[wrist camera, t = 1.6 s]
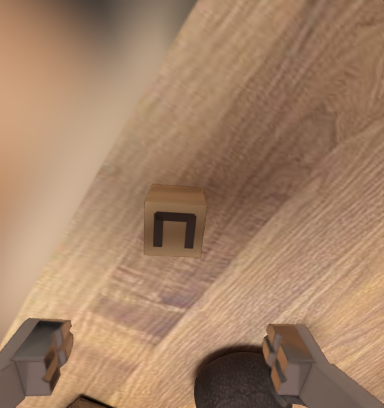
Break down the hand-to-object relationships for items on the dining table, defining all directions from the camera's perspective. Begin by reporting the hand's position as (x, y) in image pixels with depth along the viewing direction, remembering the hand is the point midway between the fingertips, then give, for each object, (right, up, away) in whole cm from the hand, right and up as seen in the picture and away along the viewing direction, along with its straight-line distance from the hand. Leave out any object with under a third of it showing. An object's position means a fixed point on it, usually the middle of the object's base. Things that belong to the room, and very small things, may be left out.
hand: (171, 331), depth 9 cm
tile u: (-1, +5, +11) cm, 12 cm away
